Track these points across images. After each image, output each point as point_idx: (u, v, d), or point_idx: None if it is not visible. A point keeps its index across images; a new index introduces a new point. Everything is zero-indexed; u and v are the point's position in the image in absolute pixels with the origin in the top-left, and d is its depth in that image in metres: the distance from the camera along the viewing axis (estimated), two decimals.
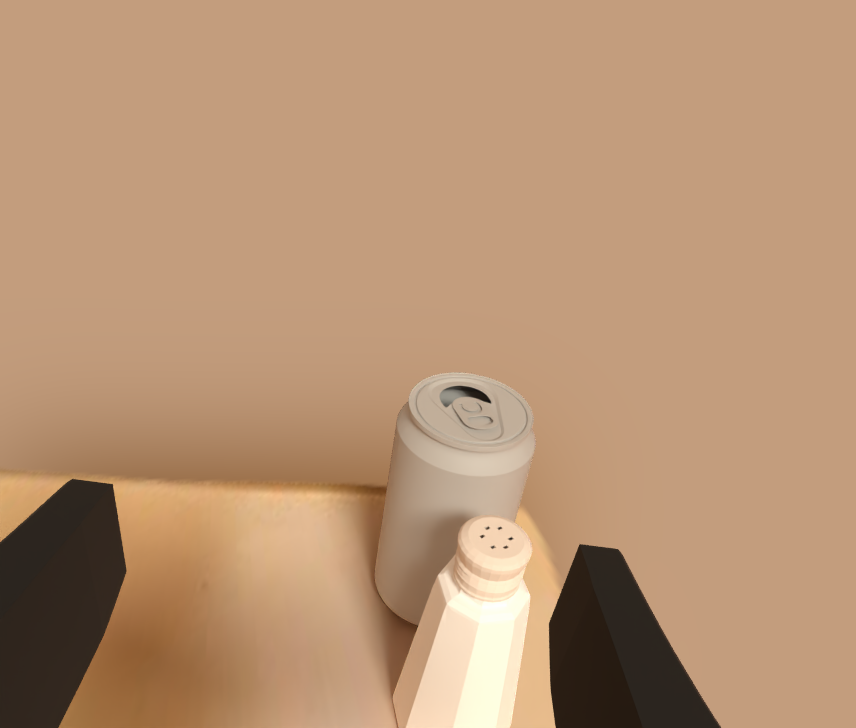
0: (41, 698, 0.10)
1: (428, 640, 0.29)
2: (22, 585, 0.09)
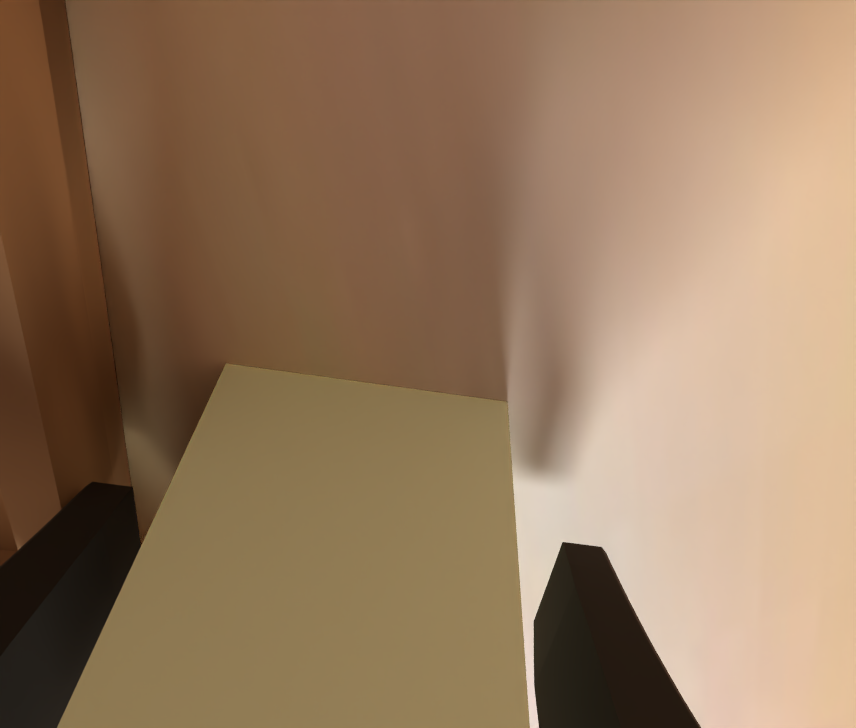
0: (64, 701, 0.10)
1: None
2: (47, 588, 0.09)
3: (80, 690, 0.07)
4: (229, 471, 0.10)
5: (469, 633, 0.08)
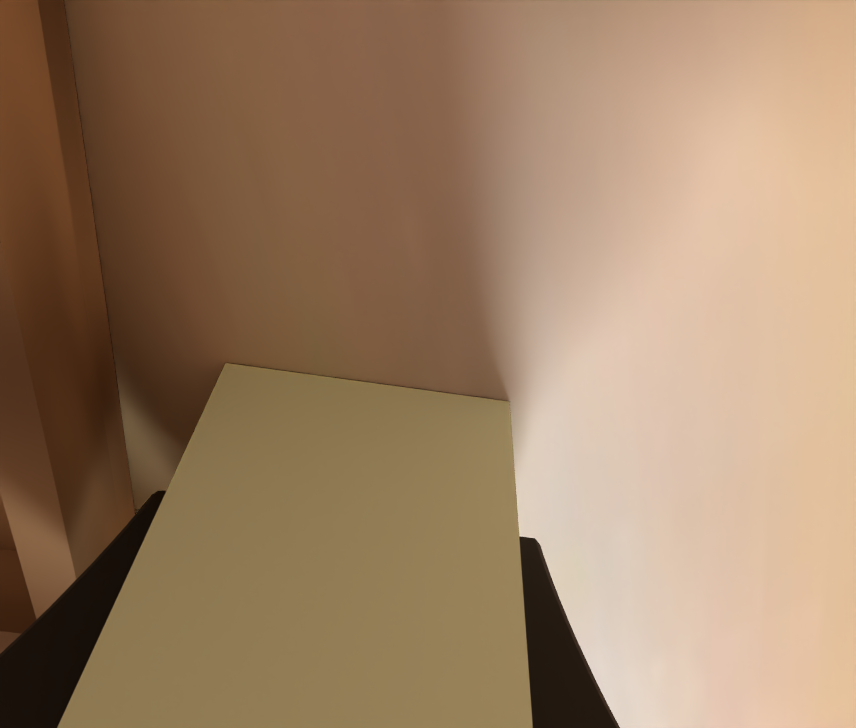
0: None
1: None
2: None
3: (76, 698, 0.07)
4: (228, 475, 0.10)
5: (472, 639, 0.08)
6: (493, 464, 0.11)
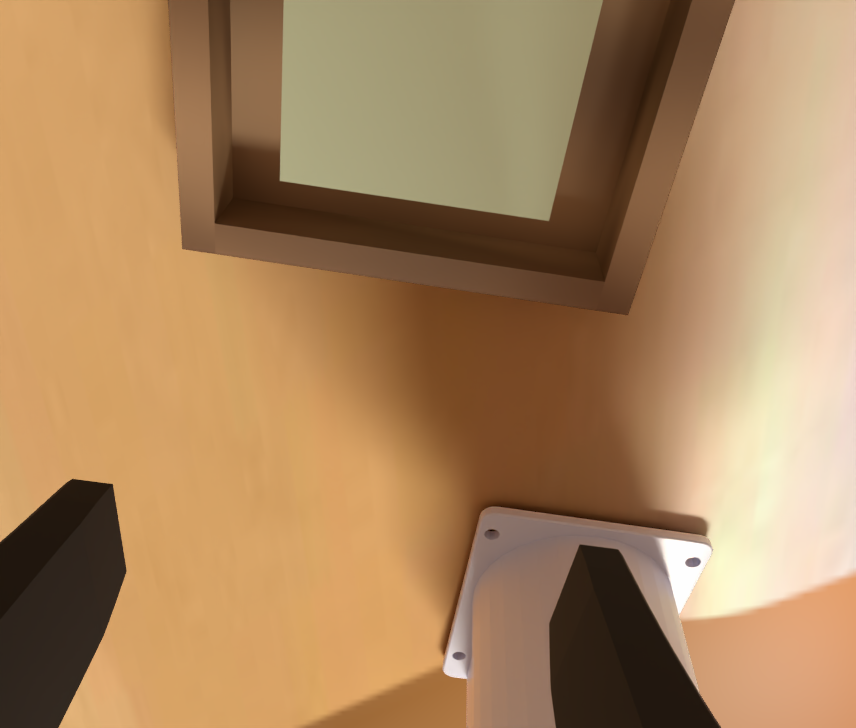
0: (41, 698, 0.10)
1: None
2: (22, 585, 0.09)
3: None
4: None
5: None
6: None
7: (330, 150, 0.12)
